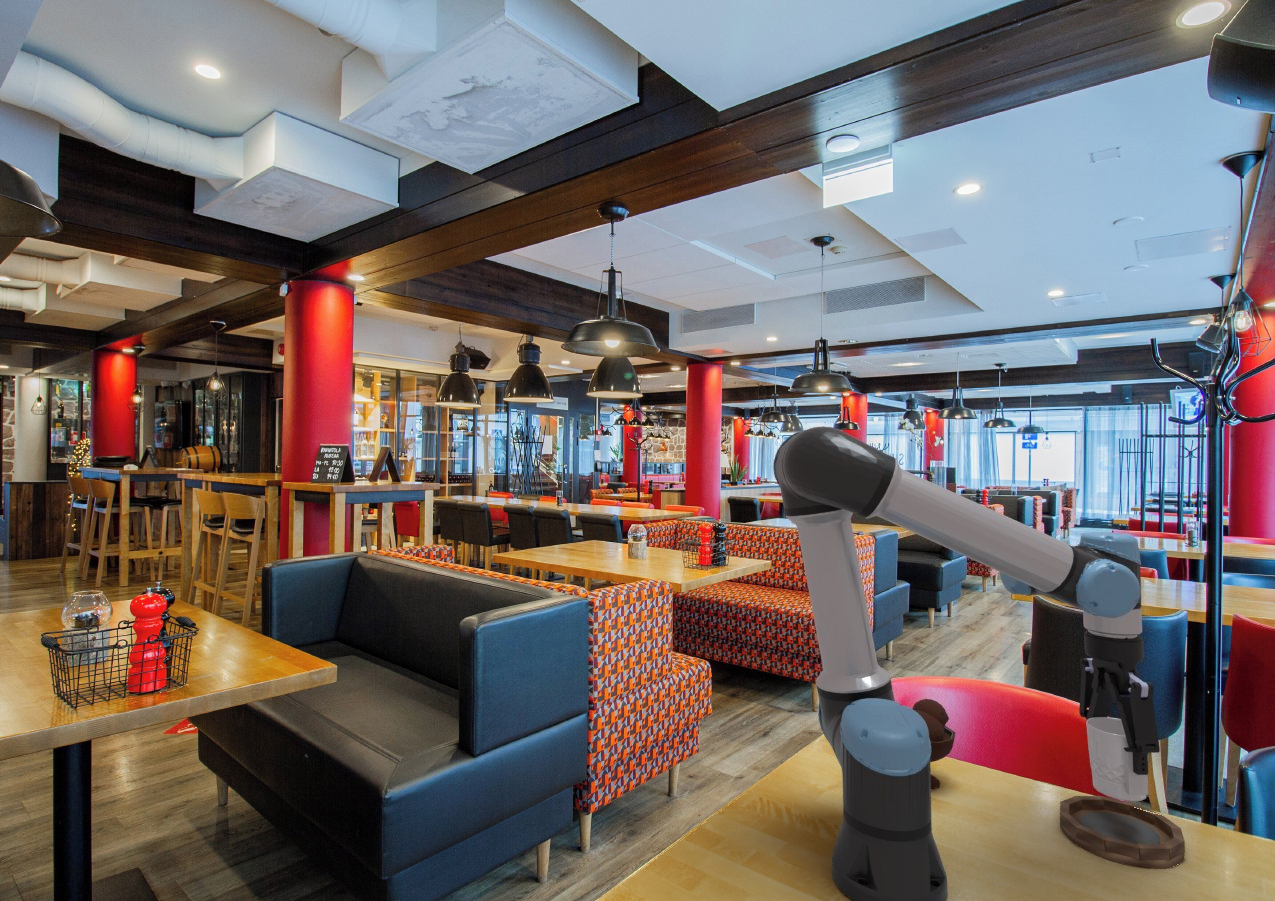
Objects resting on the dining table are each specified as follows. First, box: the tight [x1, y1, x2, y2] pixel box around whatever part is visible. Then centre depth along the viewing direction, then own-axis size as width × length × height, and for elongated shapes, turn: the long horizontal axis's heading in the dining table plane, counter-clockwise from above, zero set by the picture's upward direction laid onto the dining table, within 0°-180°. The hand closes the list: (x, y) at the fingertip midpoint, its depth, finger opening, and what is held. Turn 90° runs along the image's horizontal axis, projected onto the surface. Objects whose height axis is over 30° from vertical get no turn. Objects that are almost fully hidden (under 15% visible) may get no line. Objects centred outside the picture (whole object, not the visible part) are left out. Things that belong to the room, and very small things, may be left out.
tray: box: [1059, 795, 1186, 870], centre depth 104 cm, size 16×16×3 cm
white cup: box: [1085, 716, 1147, 802], centre depth 104 cm, size 8×8×10 cm
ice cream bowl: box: [912, 698, 956, 791], centre depth 123 cm, size 11×11×15 cm
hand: (1118, 780), depth 104 cm, fingers closed on white cup, 8 cm apart
